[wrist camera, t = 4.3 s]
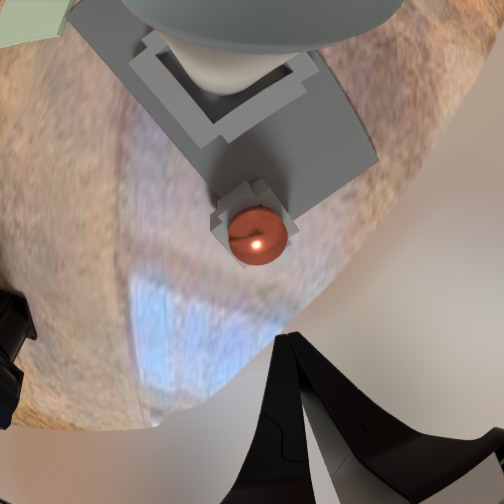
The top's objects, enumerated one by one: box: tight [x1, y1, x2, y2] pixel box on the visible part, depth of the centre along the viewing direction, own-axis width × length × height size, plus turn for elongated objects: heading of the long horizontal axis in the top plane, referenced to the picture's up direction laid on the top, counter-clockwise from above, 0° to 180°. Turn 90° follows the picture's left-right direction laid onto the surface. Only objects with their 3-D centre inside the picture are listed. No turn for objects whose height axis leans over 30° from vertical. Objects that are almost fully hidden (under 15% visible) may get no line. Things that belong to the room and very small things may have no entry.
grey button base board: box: [65, 0, 379, 268], centre depth 14 cm, size 13×25×4 cm, turn 35°
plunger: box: [228, 206, 288, 265], centre depth 18 cm, size 4×4×4 cm
